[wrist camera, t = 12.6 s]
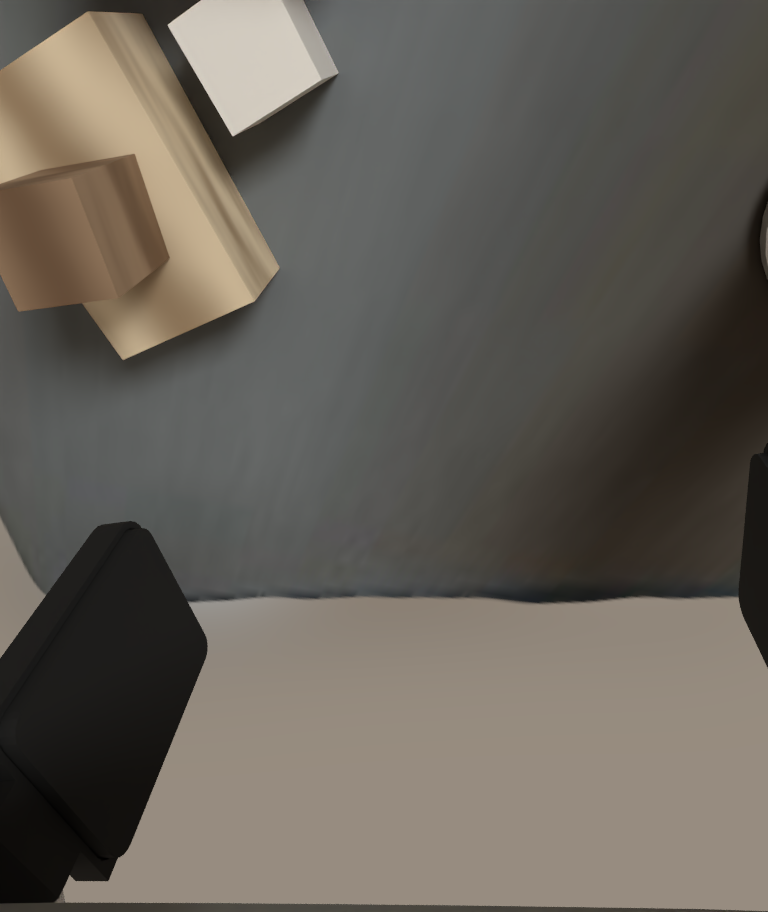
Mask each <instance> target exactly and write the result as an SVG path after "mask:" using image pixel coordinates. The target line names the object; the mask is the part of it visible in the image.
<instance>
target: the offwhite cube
mask: <svg viewBox="0 0 768 912" xmlns="http://www.w3.org/2000/svg"><path fill="white" fill-rule="evenodd" d="M168 27H169V29H170V30H171V32H172V34H173V36H174V37H175V39H176V41H177V42H178V44H179V46H180V47H181V49H182V51H183V53H184V54H185V56H186V58H187V59H188V61H189V63H190V65H191V66H192V68H193V70H194V71H195V73H196V75H197V77H198V78H199V80H200V82H201V83H202V85H203V87H204V88H205V90H206V92H207V94H208V95H209V97H210V99H211V100H212V102H213V104H214V106H215V107H216V109H217V111H218V112H219V114H220V116H221V118H222V119H223V121H224V123H225V124H226V126H227V128H228V129H229V131H230V133H231V135H232V136H235V135H237V134H239V133H241V132H243V131H245V130H247V129H249V128H251V127H253V126H255V125H257V124H260V123H261V122H263V121H264V120H266V119H267V118H269V117H271V116H272V115H274V114H275V113H277V112H278V111H280V110H282V109H283V108H285V107H286V106H288V105H289V104H291V103H293V102H294V101H296V100H297V99H299V98H300V97H302V96H304V95H305V94H307V93H308V92H310V91H312V90H313V89H315V88H316V87H318V86H319V85H321V84H323V83H324V82H326V81H327V80H329V79H330V78H332V77H334V76H335V75H337V74H338V71H337V69H336V67H335V65H334V62H333V60H332V58H331V56H330V54H329V52H328V50H327V48H326V46H325V44H324V42H323V40H322V38H321V36H320V34H319V32H318V30H317V28H316V26H315V24H314V21H313V19H312V17H311V15H310V13H309V11H308V9H307V7H306V5H305V3H304V1H303V0H200V1H199V2H198V3H196V4H195V5H194V6H192V7H191V8H190V9H188V10H187V11H186V12H184V13H183V14H182V15H180V16H179V17H177V18H176V19H175V20H173V21H172V22H171V23H169V24H168Z"/></svg>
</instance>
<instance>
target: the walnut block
mask: <svg viewBox="0 0 768 912" xmlns="http://www.w3.org/2000/svg"><path fill="white" fill-rule="evenodd" d="M169 258H170V257H169V254H168V251H167V248H166V245H165V242H164V239H163V236H162V233H161V230H160V227H159V224H158V221H157V218H156V216H155V213H154V210H153V207H152V204H151V201H150V198H149V195H148V192H147V189H146V186H145V183H144V180H143V177H142V174H141V171H140V168H139V165H138V162H137V159H136V156H135V154H130V155H124V156H119V157H113V158H107V159H101V160H95V161H90V162H84V163H78V164H72V165H67V166H61V167H55V168H49V169H44V170H39V171H36V172H34V173H31V174H28V175H25V176H22V177H19V178H16V179H13V180H10V181H7V182H4V183H1V184H0V275H1V277H2V279H3V281H4V283H5V285H6V287H7V289H8V291H9V293H10V295H11V297H12V299H13V302H14V304H15V306H16V308H17V310H18V312H19V311H26V310H34V309H42V308H49V307H57V306H64V305H72V304H79V303H87V302H95V301H102V300H110V299H117V298H120V297H121V296H122V295H124V294H125V293H126V292H127V291H129V290H130V289H131V288H132V287H134V286H135V285H136V284H138V283H139V282H140V281H141V280H143V279H144V278H145V277H146V276H148V275H149V274H150V273H151V272H153V271H154V270H155V269H157V268H158V267H159V266H160V265H162V264H163V263H164V262H165V261H167V260H168V259H169Z"/></svg>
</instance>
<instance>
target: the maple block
mask: <svg viewBox="0 0 768 912" xmlns="http://www.w3.org/2000/svg"><path fill="white" fill-rule="evenodd" d="M130 154H135V156H136V159H137V162H138V165H139V168H140V171H141V174H142V177H143V180H144V183H145V186H146V189H147V192H148V195H149V198H150V201H151V204H152V207H153V210H154V213H155V216H156V218H157V221H158V224H159V227H160V230H161V233H162V236H163V239H164V242H165V245H166V248H167V251H168V254H169V257H170V258H169V259H168V260H167V261H165V262H164V263H163V264H162V265H160V266H159V267H158V268H157V269H155V270H154V271H153V272H151V273H150V274H149V275H148V276H146V277H145V278H144V279H143V280H141V281H140V282H139V283H138V284H136V285H135V286H134V287H132V288H131V289H130V290H129V291H127V292H126V293H125V294H124V295H122V296H121V297H120V298H117V299H110V300H102V301H95V302H87V303H82V304H83V305H84V307H85V308H86V309H87V311H88V312H89V314H90V315H91V316H92V318H93V319H94V321H95V322H96V323H97V325H98V326H99V328H100V329H101V330H102V332H103V333H104V335H105V336H106V337H107V339H108V340H109V341H110V343H111V344H112V346H113V347H114V348H115V350H116V351H117V353H118V354H119V355H120V357H121V358H122V360H124V359H126V358H129V357H131V356H133V355H135V354H138V353H140V352H142V351H144V350H147V349H149V348H151V347H153V346H156V345H158V344H160V343H162V342H165V341H167V340H169V339H171V338H173V337H176V336H178V335H180V334H182V333H185V332H187V331H189V330H191V329H194V328H196V327H198V326H200V325H203V324H205V323H207V322H209V321H212V320H214V319H216V318H218V317H221V316H223V315H225V314H227V313H230V312H232V311H234V310H236V309H238V308H241V307H243V306H245V305H247V304H250V303H252V302H254V301H255V300H256V299H257V298H258V296H259V295H260V294H261V292H262V291H263V290H264V288H265V287H266V286H267V284H268V283H269V282H270V280H271V279H272V278H273V276H274V275H275V274H276V272H277V271H278V270H279V266H278V264H277V262H276V260H275V258H274V256H273V255H272V253H271V251H270V249H269V247H268V245H267V243H266V242H265V240H264V238H263V236H262V234H261V232H260V231H259V229H258V227H257V225H256V223H255V221H254V219H253V218H252V216H251V214H250V212H249V210H248V208H247V207H246V205H245V203H244V201H243V199H242V197H241V195H240V194H239V192H238V190H237V188H236V186H235V184H234V182H233V181H232V179H231V177H230V175H229V173H228V171H227V170H226V168H225V166H224V164H223V162H222V160H221V158H220V157H219V155H218V153H217V151H216V149H215V147H214V146H213V144H212V142H211V140H210V138H209V136H208V134H207V133H206V131H205V129H204V127H203V125H202V123H201V121H200V120H199V118H198V116H197V114H196V112H195V110H194V109H193V107H192V105H191V103H190V101H189V99H188V97H187V96H186V94H185V92H184V90H183V88H182V86H181V84H180V83H179V81H178V79H177V77H176V75H175V73H174V72H173V70H172V68H171V66H170V64H169V62H168V60H167V59H166V57H165V55H164V53H163V51H162V49H161V48H160V46H159V44H158V42H157V40H156V38H155V36H154V35H153V33H152V31H151V29H150V27H149V25H148V23H147V22H146V20H145V18H144V16H143V14H140V13H116V12H92V11H88V12H86V13H85V14H83V15H82V16H80V17H79V18H77V19H76V20H74V21H73V22H71V23H70V24H68V25H67V26H65V27H64V28H63V29H61V30H60V31H58V32H57V33H55V34H54V35H52V36H51V37H49V38H48V39H46V40H45V41H43V42H42V43H40V44H39V45H37V46H36V47H34V48H33V49H31V50H30V51H28V52H27V53H25V54H24V55H22V56H21V57H19V58H18V59H16V60H15V61H14V62H12V63H11V64H9V65H8V66H6V67H5V68H3V69H2V70H0V184H1V183H4V182H7V181H10V180H13V179H16V178H19V177H22V176H25V175H28V174H31V173H34V172H36V171H39V170H44V169H49V168H55V167H61V166H67V165H72V164H78V163H84V162H90V161H95V160H101V159H107V158H113V157H119V156H124V155H130Z"/></svg>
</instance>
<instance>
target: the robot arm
mask: <svg viewBox="0 0 768 912" xmlns="http://www.w3.org/2000/svg"><path fill="white" fill-rule="evenodd" d="M760 250H761V261H762V264H763V267H764V270H765V274H766V277H767V279H768V202H767V206H766V209H765V212H764V215H763V219H762V226H761V234H760ZM739 603H740V608H741V611H742V614H743V617H744V619H745V621H746V623H747V625H748V628H749V630H750V632H751V634H752V636H753V638H754V640H755V642H756V644H757V646H758V648H759V650H760V653H761V655H762V657H763V659H764V661H765V663H766V665H767V667H768V443H767V444H766V446H765V448H764V453H760V454H754V455H753V456H752V458H751V462H750V471H749V482H748V493H747V504H746V515H745V526H744V537H743V548H742V559H741V570H740V581H739ZM206 655H207V639H206V636H205V634H204V632H203V630H202V628H201V626H200V624H199V622H198V621H197V619H196V617H195V615H194V613H193V611H192V609H191V607H190V606H189V604H188V602H187V600H186V598H185V596H184V594H183V593H182V591H181V589H180V587H179V585H178V583H177V581H176V579H175V578H174V576H173V574H172V572H171V570H170V568H169V566H168V564H167V563H166V561H165V559H164V557H163V555H162V553H161V551H160V549H159V548H158V546H157V544H156V542H155V540H154V538H153V536H152V535H151V533H150V532H149V531H148V530H147V529H143V528H141V526H140V525H139V524H137V523H136V522H132V521H128V522H120V523H112V524H104V525H100V526H98V527H97V528H96V529H95V530H94V531H93V532H92V533H91V535H90V536H89V537H88V539H87V540H86V542H85V543H84V544H83V546H82V547H81V548H80V550H79V551H78V553H77V554H76V555H75V557H74V558H73V559H72V561H71V562H70V564H69V565H68V566H67V568H66V569H65V570H64V572H63V573H62V574H61V576H60V577H59V579H58V580H57V581H56V583H55V584H54V585H53V587H52V588H51V590H50V591H49V592H48V594H47V595H46V596H45V598H44V599H43V601H42V602H41V603H40V605H39V606H38V607H37V609H36V610H35V611H34V613H33V614H32V616H31V617H30V618H29V620H28V621H27V623H26V624H25V625H24V627H23V628H22V629H21V631H20V632H19V633H18V635H17V636H16V638H15V639H14V640H13V642H12V643H11V644H10V646H9V647H8V649H7V650H6V651H5V653H4V654H3V655H2V657H1V658H0V912H768V911H739V910H737V911H736V910H708V909H707V910H705V909H654V908H653V909H652V908H650V909H649V908H586V907H520V906H519V907H518V906H448V905H446V906H445V905H442V906H441V905H352V904H350V905H348V904H343V905H342V904H241V903H238V904H237V903H235V904H234V903H233V904H232V903H65V899H64V894H63V888H64V886H65V884H66V882H67V879H68V877H69V875H71V877H72V878H73V879H74V880H75V881H108V880H109V878H110V875H111V873H112V871H113V868H114V866H115V863H116V861H117V859H118V857H120V856H122V855H124V853H125V852H126V851H127V850H128V848H129V846H130V844H131V842H132V839H133V836H134V834H135V832H136V829H137V826H138V824H139V822H140V819H141V817H142V814H143V812H144V809H145V807H146V804H147V802H148V800H149V797H150V794H151V792H152V789H153V787H154V785H155V782H156V780H157V777H158V775H159V772H160V769H161V767H162V765H163V762H164V760H165V757H166V755H167V753H168V750H169V748H170V745H171V743H172V740H173V737H174V735H175V732H176V730H177V728H178V725H179V723H180V720H181V718H182V715H183V713H184V710H185V708H186V706H187V703H188V700H189V698H190V696H191V693H192V691H193V688H194V686H195V683H196V681H197V678H198V676H199V673H200V671H201V668H202V666H203V664H204V661H205V659H206Z"/></svg>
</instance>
